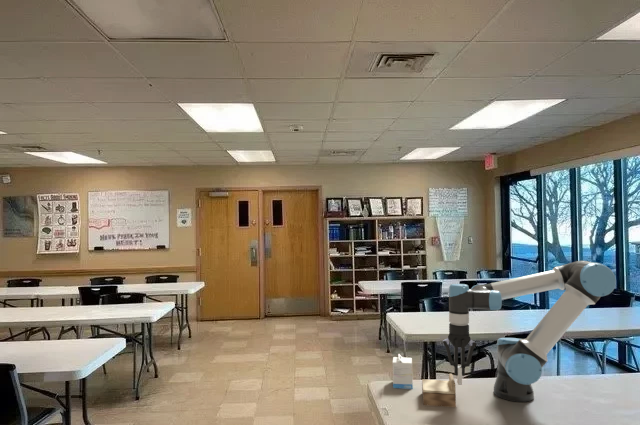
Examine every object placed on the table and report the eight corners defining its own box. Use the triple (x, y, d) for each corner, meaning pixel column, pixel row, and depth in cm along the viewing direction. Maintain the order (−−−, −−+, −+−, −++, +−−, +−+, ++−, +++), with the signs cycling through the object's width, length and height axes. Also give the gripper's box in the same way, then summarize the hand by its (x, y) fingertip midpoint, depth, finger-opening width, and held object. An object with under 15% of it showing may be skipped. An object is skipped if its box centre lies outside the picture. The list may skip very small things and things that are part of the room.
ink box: (412, 391, 180) (412, 359, 181) (392, 389, 182) (392, 358, 183) (412, 383, 189) (412, 353, 189) (393, 382, 191) (392, 352, 191)
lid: (452, 383, 174) (452, 373, 174) (455, 394, 162) (455, 384, 162) (422, 381, 176) (422, 371, 176) (423, 392, 164) (423, 382, 165)
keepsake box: (452, 397, 174) (452, 383, 174) (455, 409, 162) (455, 395, 162) (422, 395, 176) (422, 381, 176) (423, 407, 164) (423, 392, 164)
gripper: (474, 322, 171) (475, 381, 170) (441, 320, 173) (441, 379, 173) (477, 326, 164) (478, 388, 163) (442, 324, 166) (443, 385, 165)
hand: (459, 383), depth 168 cm, fingers closed
